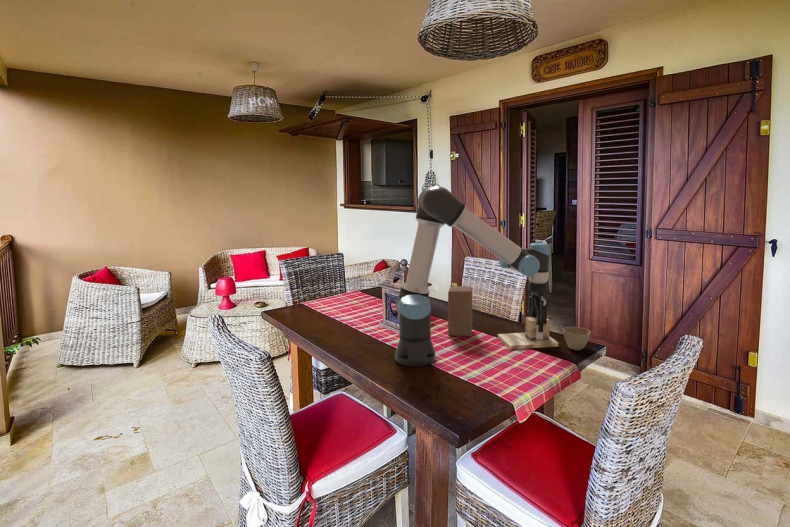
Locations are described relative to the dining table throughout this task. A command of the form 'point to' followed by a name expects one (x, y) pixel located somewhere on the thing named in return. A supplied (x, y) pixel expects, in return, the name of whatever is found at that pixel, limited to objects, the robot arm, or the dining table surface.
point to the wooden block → (460, 311)
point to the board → (525, 341)
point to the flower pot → (576, 337)
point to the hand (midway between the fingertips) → (536, 336)
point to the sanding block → (531, 328)
